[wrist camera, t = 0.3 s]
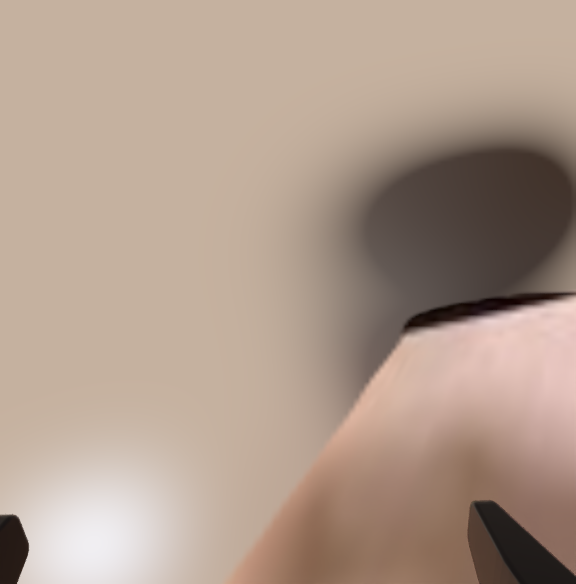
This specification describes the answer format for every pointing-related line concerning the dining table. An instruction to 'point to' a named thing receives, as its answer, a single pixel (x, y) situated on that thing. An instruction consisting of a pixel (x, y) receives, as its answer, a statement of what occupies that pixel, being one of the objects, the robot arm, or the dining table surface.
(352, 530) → the dining table surface
